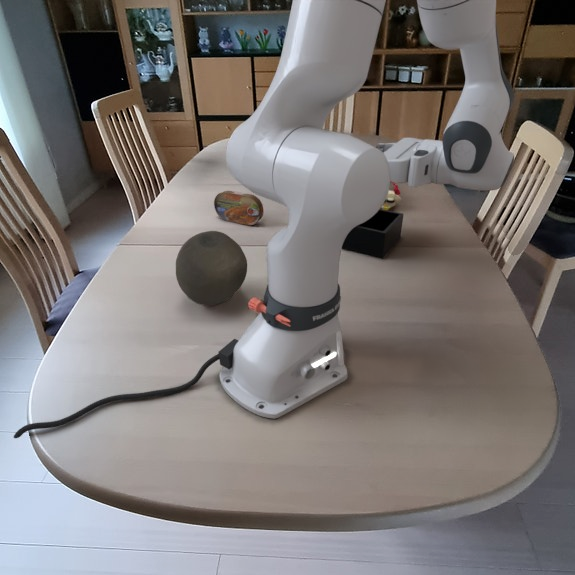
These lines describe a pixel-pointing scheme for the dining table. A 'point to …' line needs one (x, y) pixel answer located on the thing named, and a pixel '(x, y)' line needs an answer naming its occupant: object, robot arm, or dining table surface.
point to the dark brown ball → (210, 268)
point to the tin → (238, 207)
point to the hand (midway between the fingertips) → (368, 152)
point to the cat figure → (391, 198)
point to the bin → (375, 234)
